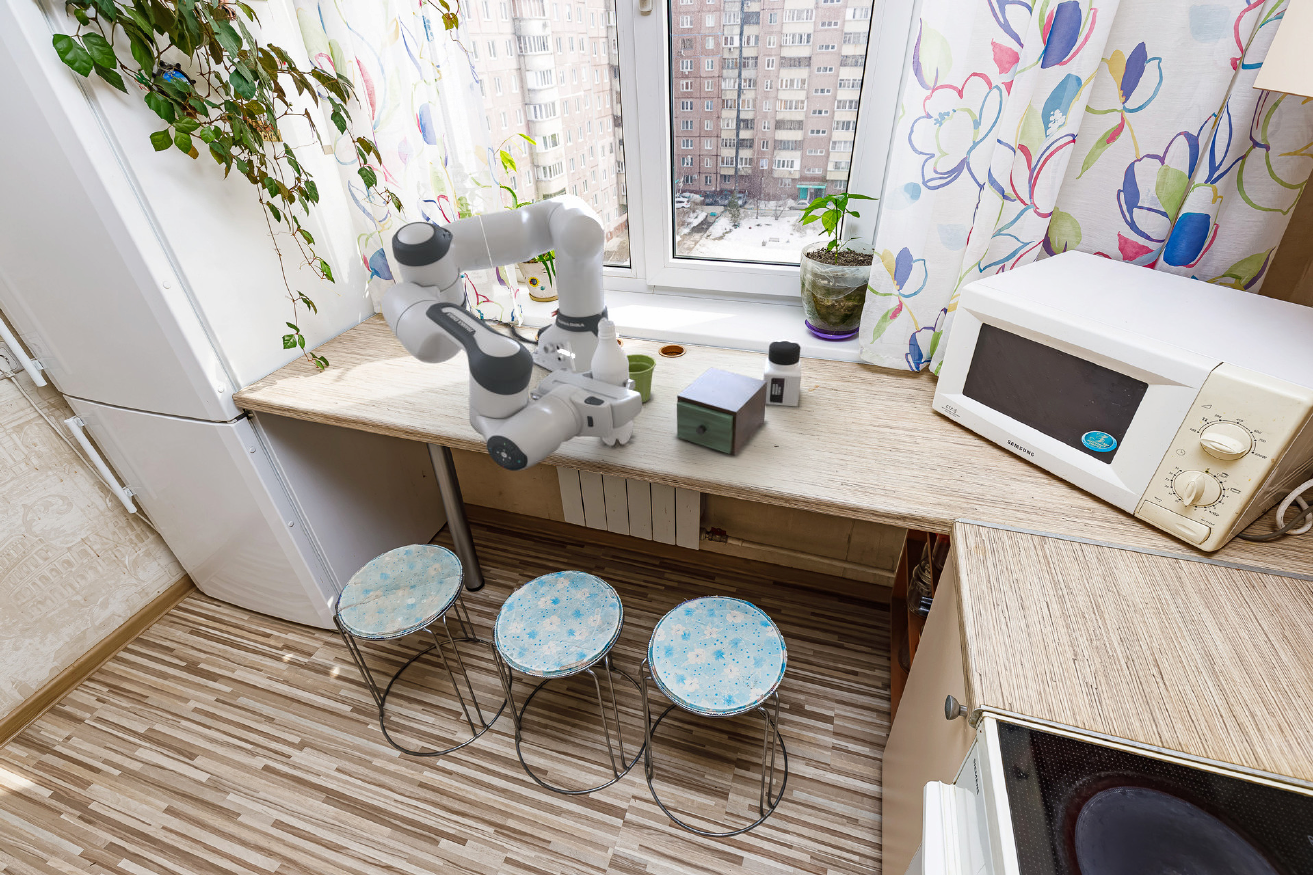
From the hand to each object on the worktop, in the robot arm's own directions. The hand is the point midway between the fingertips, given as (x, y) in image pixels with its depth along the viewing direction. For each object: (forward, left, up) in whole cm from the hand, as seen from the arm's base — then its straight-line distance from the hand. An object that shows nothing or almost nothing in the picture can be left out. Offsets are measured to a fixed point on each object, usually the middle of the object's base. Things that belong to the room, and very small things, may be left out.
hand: (614, 377), depth 116 cm
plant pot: (-6, +15, -14) cm, 21 cm away
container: (+22, +31, -14) cm, 41 cm away
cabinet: (+17, +13, -14) cm, 25 cm away
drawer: (+17, +10, -13) cm, 24 cm away
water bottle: (0, -1, -14) cm, 14 cm away
